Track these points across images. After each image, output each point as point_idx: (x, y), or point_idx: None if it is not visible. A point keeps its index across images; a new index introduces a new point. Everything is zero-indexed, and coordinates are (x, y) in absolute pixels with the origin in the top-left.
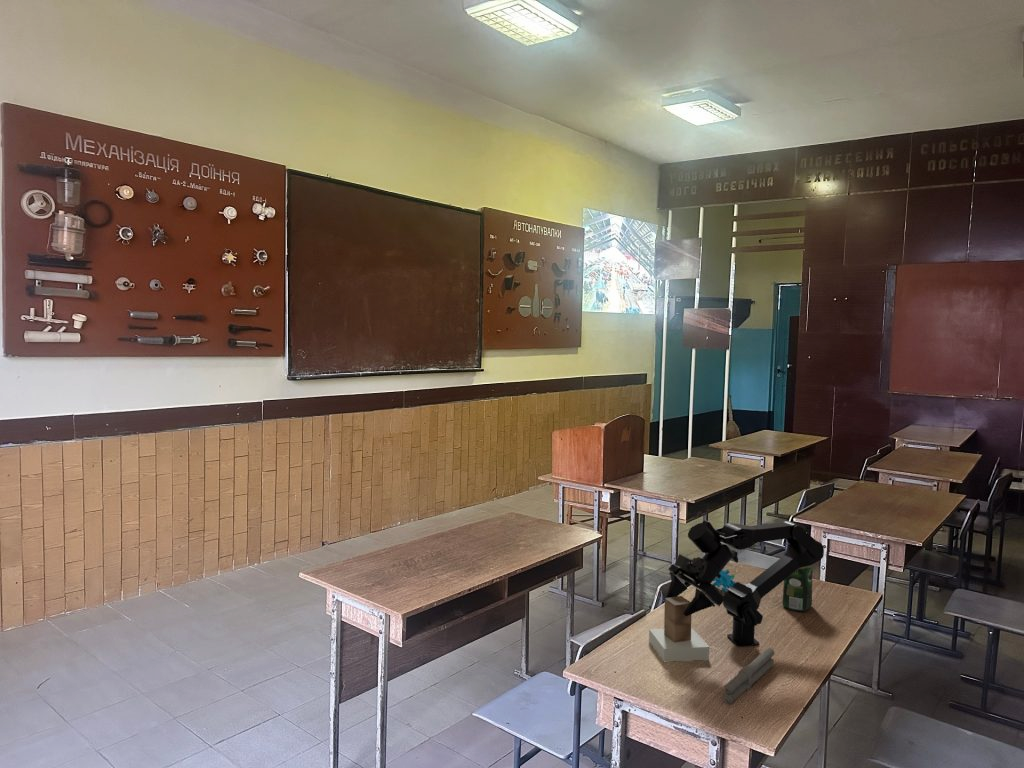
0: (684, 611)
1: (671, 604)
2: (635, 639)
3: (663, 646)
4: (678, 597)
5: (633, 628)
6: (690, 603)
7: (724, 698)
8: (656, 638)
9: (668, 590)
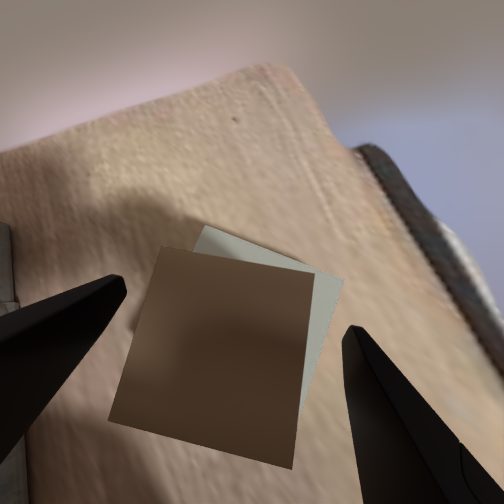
0: (107, 282)
1: (212, 256)
2: (358, 258)
3: (218, 233)
4: (268, 404)
5: (431, 304)
6: (14, 326)
7: (1, 223)
8: (272, 251)
9: (432, 414)
